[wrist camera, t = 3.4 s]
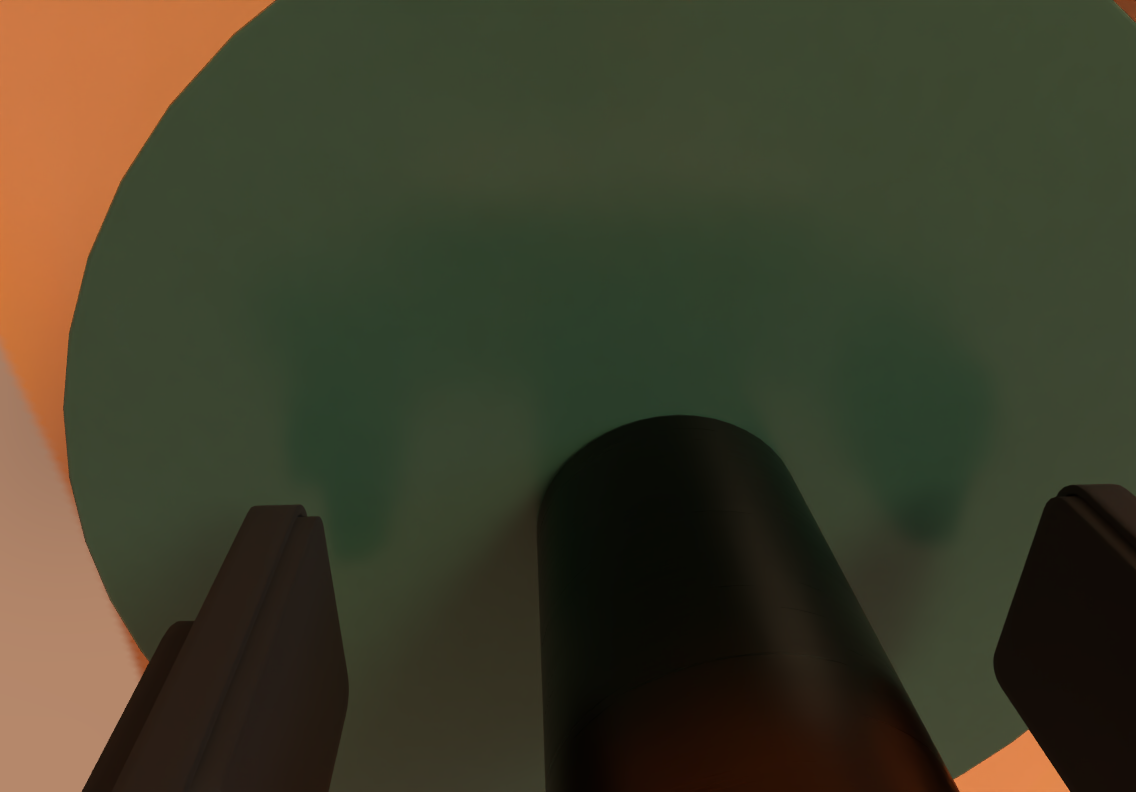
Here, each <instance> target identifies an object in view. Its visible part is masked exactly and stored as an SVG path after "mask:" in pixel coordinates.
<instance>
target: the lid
mask: <svg viewBox="0 0 1136 792" xmlns="http://www.w3.org/2000/svg"><path fill="white" fill-rule="evenodd" d="M63 411H64V422H65V434H66V445H67V457H68V468H69V478H70V482H71V486H72V490H73V494H74V498H75V502H76V506H77V510H78V514H79V518H80V522H81V526H82V530H83V534H84V538H85V542H86V544H87V546H88V549H89V551H90V554H91V556H92V558H93V561H94V563H95V565H96V568H97V570H98V572H99V575H100V577H101V580H102V582H103V584H104V587H105V589H106V591H107V594H108V596H109V598H110V601H111V602H112V604H113V606H114V607H115V609H116V611H117V612H118V614H119V615H120V617H121V619H122V620H123V622H124V624H125V625H126V627H127V629H128V630H129V632H130V634H131V635H132V637H133V639H134V640H135V642H136V644H137V645H138V647H139V648H140V650H141V652H142V653H143V654H144V656H145V657H146V658H147V659H148V661H149V662H150V660H151V658H152V656H153V655H154V653H155V651H156V649H157V647H158V645H159V643H160V641H161V639H162V637H163V636H164V634H165V633H166V632H167V630H168V629H169V627H170V626H171V625H173V624H174V623H176V622H177V621H195V619H196V617H197V615H198V613H199V611H200V609H201V607H202V605H203V603H204V601H205V599H206V597H207V595H208V593H209V591H210V589H211V586H212V584H213V582H214V580H215V578H216V576H217V574H218V572H219V570H220V568H221V566H222V564H223V562H224V560H225V558H226V556H227V554H228V552H229V550H230V548H231V545H232V543H233V541H234V539H235V537H236V535H237V533H238V531H239V529H240V527H241V525H242V523H243V521H244V519H245V517H246V515H247V513H248V511H249V510H250V508H251V507H253V506H259V505H298V504H301V505H302V506H304V508H305V510H306V513H307V517H308V516H319V517H321V519H322V522H323V526H324V532H325V538H326V544H327V550H328V556H329V562H330V568H331V575H332V581H333V587H334V593H335V599H336V605H337V611H338V617H339V624H340V630H341V636H342V642H343V648H344V654H345V660H346V666H347V673H348V680H349V698H348V707H347V712H346V717H345V721H344V726H343V730H342V734H341V739H340V743H339V748H338V752H337V756H336V761H335V765H334V770H333V774H332V779H331V783H330V787H329V792H959V790H958V788H957V786H956V784H955V782H954V780H953V779H955V778H957V777H959V776H960V775H962V774H964V773H965V772H967V771H969V770H970V769H972V768H973V767H975V766H976V765H978V764H979V763H981V762H982V761H984V760H986V759H987V758H989V757H990V756H992V755H993V754H995V753H996V752H998V751H1000V750H1001V749H1003V748H1004V747H1006V746H1007V745H1009V744H1010V743H1012V742H1013V741H1014V740H1016V739H1017V738H1018V737H1020V736H1021V735H1022V734H1023V733H1025V732H1026V731H1027V730H1029V729H1028V727H1027V726H1026V724H1025V723H1024V721H1023V720H1022V718H1021V717H1020V715H1019V714H1018V712H1017V711H1016V709H1015V708H1014V706H1013V705H1012V703H1011V702H1010V700H1009V699H1008V697H1007V696H1006V694H1005V693H1004V691H1003V690H1002V688H1001V687H1000V685H999V683H998V681H997V679H996V676H995V672H994V667H993V658H994V653H995V650H996V647H997V644H998V641H999V638H1000V635H1001V632H1002V629H1003V626H1004V623H1005V620H1006V618H1007V615H1008V612H1009V609H1010V606H1011V603H1012V600H1013V597H1014V594H1015V591H1016V588H1017V585H1018V583H1019V580H1020V577H1021V574H1022V571H1023V568H1024V565H1025V562H1026V559H1027V556H1028V553H1029V550H1030V547H1031V545H1032V542H1033V539H1034V536H1035V533H1036V530H1037V527H1038V524H1039V521H1040V518H1041V515H1042V512H1043V509H1044V507H1045V505H1046V503H1047V502H1048V501H1049V500H1050V499H1051V498H1054V497H1056V496H1057V494H1058V492H1059V491H1060V490H1061V489H1062V488H1064V487H1065V486H1069V485H1083V484H1117V485H1121V486H1122V487H1124V488H1125V489H1127V490H1128V491H1129V492H1131V493H1132V494H1133V495H1134V496H1135V497H1136V22H1135V21H1134V20H1133V19H1132V18H1131V17H1130V16H1129V15H1128V14H1127V13H1126V12H1125V11H1124V10H1123V9H1122V8H1121V7H1120V6H1119V5H1118V4H1117V3H1116V2H1115V1H1114V0H275V1H274V2H273V3H271V4H270V5H269V6H268V7H266V8H265V9H264V10H263V11H262V12H260V13H259V14H258V15H257V16H255V17H254V18H253V19H252V20H250V21H249V22H248V23H247V24H245V25H244V26H243V27H242V28H240V29H239V30H238V31H237V32H236V33H234V34H233V35H232V36H231V38H230V39H229V40H228V41H227V42H226V43H225V44H224V45H223V46H222V48H221V49H220V50H219V51H218V52H217V53H216V54H215V55H214V56H213V58H212V59H211V60H210V61H209V62H208V63H207V64H206V65H205V66H204V67H203V69H202V70H201V71H200V72H199V73H198V74H197V75H196V76H195V77H194V79H193V80H192V81H191V82H190V83H189V84H188V85H187V86H186V87H185V89H184V90H183V91H182V92H181V93H180V94H179V95H178V96H177V97H176V99H175V100H174V101H173V102H172V103H171V104H170V105H169V107H168V108H167V110H166V112H165V113H164V115H163V116H162V118H161V119H160V121H159V122H158V124H157V126H156V127H155V129H154V130H153V132H152V133H151V135H150V136H149V138H148V139H147V141H146V143H145V144H144V146H143V147H142V149H141V150H140V152H139V153H138V155H137V157H136V158H135V160H134V161H133V163H132V164H131V166H130V167H129V169H128V170H127V172H126V174H125V175H124V177H123V178H122V180H121V182H120V184H119V186H118V189H117V191H116V193H115V196H114V198H113V200H112V203H111V205H110V207H109V210H108V212H107V214H106V216H105V219H104V221H103V223H102V226H101V228H100V230H99V233H98V235H97V237H96V240H95V242H94V244H93V246H92V249H91V251H90V253H89V256H88V259H87V263H86V267H85V271H84V275H83V279H82V283H81V287H80V291H79V295H78V299H77V303H76V307H75V311H74V315H73V319H72V323H71V327H70V331H69V341H68V354H67V367H66V380H65V393H64V406H63Z"/></svg>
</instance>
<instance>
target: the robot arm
mask: <svg viewBox="0 0 1136 792" xmlns="http://www.w3.org/2000/svg"><path fill="white" fill-rule="evenodd" d="M993 667H994V672H995V676H996V679H997V681H998V683H999V685H1000V687H1001V688H1002V690H1003V691H1004V693H1005V694H1006V696H1007V697H1008V699H1009V700H1010V702H1011V703H1012V705H1013V706H1014V708H1015V709H1016V711H1017V712H1018V714H1019V715H1020V717H1021V718H1022V720H1023V721H1024V723H1025V724H1026V726H1027V727H1028V729H1029V730H1030V732H1031V733H1032V735H1033V736H1034V738H1035V739H1036V741H1037V742H1038V744H1039V745H1040V747H1041V748H1042V750H1043V751H1044V753H1045V754H1046V756H1047V757H1048V759H1049V760H1050V762H1051V763H1052V765H1053V766H1054V768H1055V769H1056V771H1057V772H1058V774H1059V775H1060V777H1061V778H1062V780H1063V781H1064V783H1065V784H1066V786H1067V787H1068V789H1069V790H1070V792H1136V497H1135V496H1134V495H1133V494H1132V493H1131V492H1129V491H1128V490H1127V489H1125V488H1124V487H1122V486H1121V485H1117V484H1083V485H1069V486H1065V487H1064V488H1062V489H1061V490H1060V491H1059V492H1058V494H1057V496H1056V497H1054V498H1051V499H1050V500H1049V501H1048V502H1047V503H1046V505H1045V507H1044V509H1043V512H1042V515H1041V518H1040V521H1039V524H1038V527H1037V530H1036V533H1035V536H1034V539H1033V542H1032V545H1031V547H1030V550H1029V553H1028V556H1027V559H1026V562H1025V565H1024V568H1023V571H1022V574H1021V577H1020V580H1019V583H1018V585H1017V588H1016V591H1015V594H1014V597H1013V600H1012V603H1011V606H1010V609H1009V612H1008V615H1007V618H1006V620H1005V623H1004V626H1003V629H1002V632H1001V635H1000V638H999V641H998V644H997V647H996V650H995V653H994V658H993ZM348 698H349V680H348V673H347V666H346V660H345V654H344V648H343V642H342V636H341V630H340V624H339V617H338V611H337V605H336V599H335V593H334V587H333V581H332V575H331V568H330V562H329V556H328V550H327V544H326V538H325V532H324V526H323V522H322V519H321V517H319V516H308V517H307V513H306V510H305V508H304V506H302V505H301V504H298V505H259V506H253V507H251V508H250V510H249V511H248V513H247V515H246V517H245V519H244V521H243V523H242V525H241V527H240V529H239V531H238V533H237V535H236V537H235V539H234V541H233V543H232V545H231V548H230V550H229V552H228V554H227V556H226V558H225V560H224V562H223V564H222V566H221V568H220V570H219V572H218V574H217V576H216V578H215V580H214V582H213V584H212V586H211V589H210V591H209V593H208V595H207V597H206V599H205V601H204V603H203V605H202V607H201V609H200V611H199V613H198V615H197V617H196V619H195V621H177V622H176V623H174V624H173V625H171V626H170V627H169V629H168V630H167V632H166V633H165V634H164V636H163V637H162V639H161V641H160V643H159V645H158V647H157V649H156V651H155V653H154V655H153V656H152V658H151V660H150V662H149V664H148V666H147V668H146V670H145V672H144V674H143V676H142V677H141V679H140V681H139V683H138V685H137V687H136V689H135V691H134V693H133V695H132V697H131V699H130V700H129V703H128V704H127V706H126V708H125V710H124V712H123V714H122V716H121V718H120V720H119V722H118V724H117V725H116V727H115V729H114V731H113V733H112V735H111V737H110V739H109V741H108V743H107V745H106V746H105V748H104V750H103V752H102V754H101V756H100V758H99V760H98V762H97V763H96V765H95V767H94V769H93V771H92V773H91V775H90V777H89V779H88V781H87V783H86V785H85V786H84V789H83V790H82V792H329V787H330V783H331V779H332V774H333V770H334V765H335V761H336V756H337V752H338V748H339V743H340V739H341V734H342V730H343V726H344V721H345V717H346V712H347V707H348Z"/></svg>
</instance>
